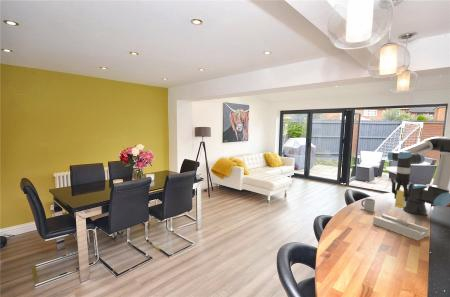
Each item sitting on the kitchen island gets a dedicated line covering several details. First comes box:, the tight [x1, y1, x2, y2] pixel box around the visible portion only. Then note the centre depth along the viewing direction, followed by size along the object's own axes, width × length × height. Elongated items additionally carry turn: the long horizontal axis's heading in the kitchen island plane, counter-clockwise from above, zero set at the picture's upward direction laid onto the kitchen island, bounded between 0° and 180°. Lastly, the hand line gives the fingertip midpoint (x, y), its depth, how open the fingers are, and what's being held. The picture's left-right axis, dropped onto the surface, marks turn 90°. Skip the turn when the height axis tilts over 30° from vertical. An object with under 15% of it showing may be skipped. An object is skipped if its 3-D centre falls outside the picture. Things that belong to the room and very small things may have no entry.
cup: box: [360, 198, 376, 213], centre depth 190 cm, size 7×10×9 cm
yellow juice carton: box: [394, 189, 406, 209], centre depth 162 cm, size 7×4×12 cm, turn 117°
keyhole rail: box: [372, 213, 430, 241], centre depth 153 cm, size 14×27×5 cm, turn 27°
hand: (400, 204), depth 163 cm, fingers closed on yellow juice carton, 4 cm apart
